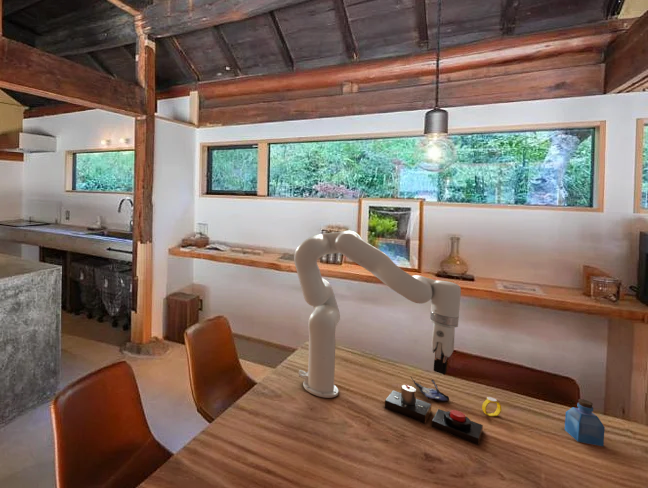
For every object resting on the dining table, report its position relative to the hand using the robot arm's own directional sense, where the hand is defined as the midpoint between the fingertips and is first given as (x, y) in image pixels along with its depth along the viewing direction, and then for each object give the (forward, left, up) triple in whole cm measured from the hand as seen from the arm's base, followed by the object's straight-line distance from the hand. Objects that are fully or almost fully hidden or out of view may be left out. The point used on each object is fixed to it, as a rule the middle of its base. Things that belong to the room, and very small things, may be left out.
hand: (439, 372), depth 131 cm
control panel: (-9, +3, -18) cm, 21 cm away
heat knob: (-9, +3, -15) cm, 18 cm away
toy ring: (+12, +22, -19) cm, 31 cm away
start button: (+5, +3, -15) cm, 16 cm away
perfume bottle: (+34, +29, -19) cm, 48 cm away
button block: (+5, +3, -18) cm, 19 cm away
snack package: (-6, +21, -19) cm, 28 cm away
